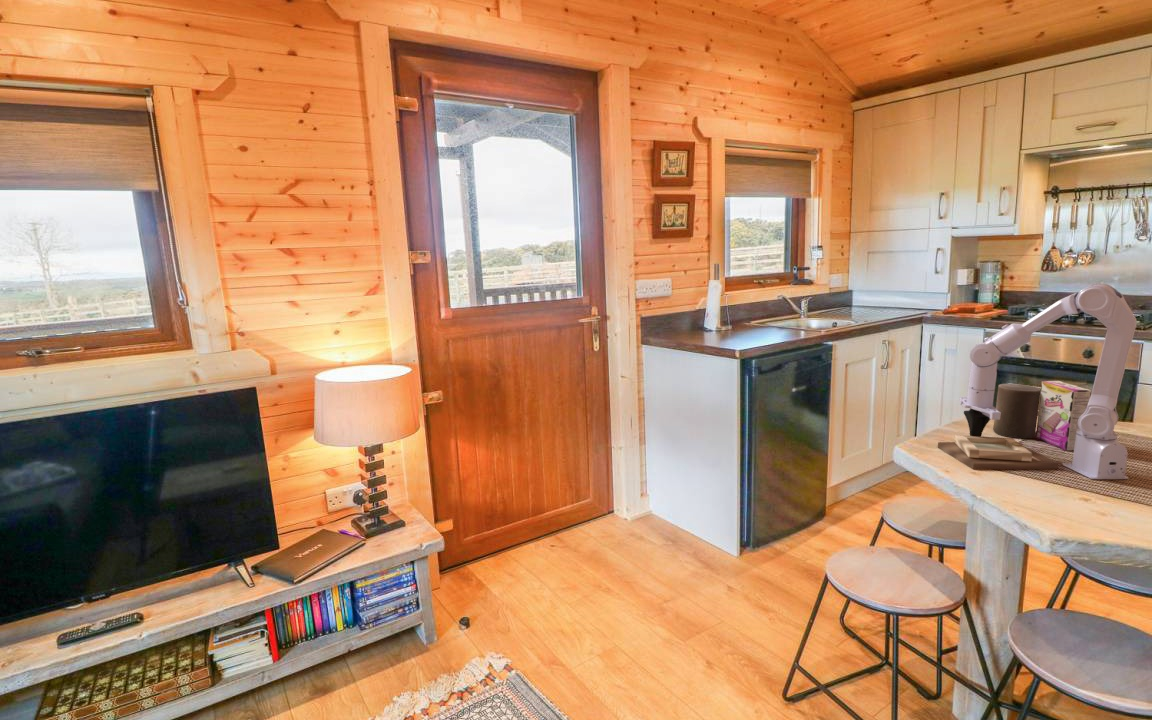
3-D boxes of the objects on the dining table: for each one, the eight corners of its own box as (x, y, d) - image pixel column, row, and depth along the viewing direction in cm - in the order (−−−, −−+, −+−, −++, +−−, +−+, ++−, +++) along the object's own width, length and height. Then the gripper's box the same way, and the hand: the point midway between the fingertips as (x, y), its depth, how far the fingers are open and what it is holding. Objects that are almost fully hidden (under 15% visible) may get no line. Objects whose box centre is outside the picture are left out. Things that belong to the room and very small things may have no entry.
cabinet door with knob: (1031, 461, 141) (1032, 451, 141) (969, 457, 145) (970, 447, 145) (1011, 445, 153) (1012, 436, 152) (954, 442, 156) (955, 433, 156)
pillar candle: (1016, 440, 162) (1023, 387, 159) (984, 430, 171) (990, 380, 168) (1044, 437, 164) (1051, 385, 161) (1011, 427, 173) (1017, 377, 170)
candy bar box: (1033, 438, 163) (1040, 380, 160) (1052, 437, 163) (1059, 380, 160) (1065, 451, 152) (1073, 390, 149) (1085, 451, 152) (1093, 389, 149)
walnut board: (1057, 468, 141) (1058, 462, 140) (972, 469, 142) (973, 463, 142) (1013, 447, 156) (1014, 441, 156) (937, 447, 158) (938, 441, 158)
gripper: (950, 381, 160) (944, 429, 163) (982, 395, 146) (975, 447, 148) (977, 381, 159) (971, 429, 162) (1011, 395, 145) (1005, 447, 148)
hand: (975, 437), depth 155 cm, fingers closed, pressing on cabinet door with knob
